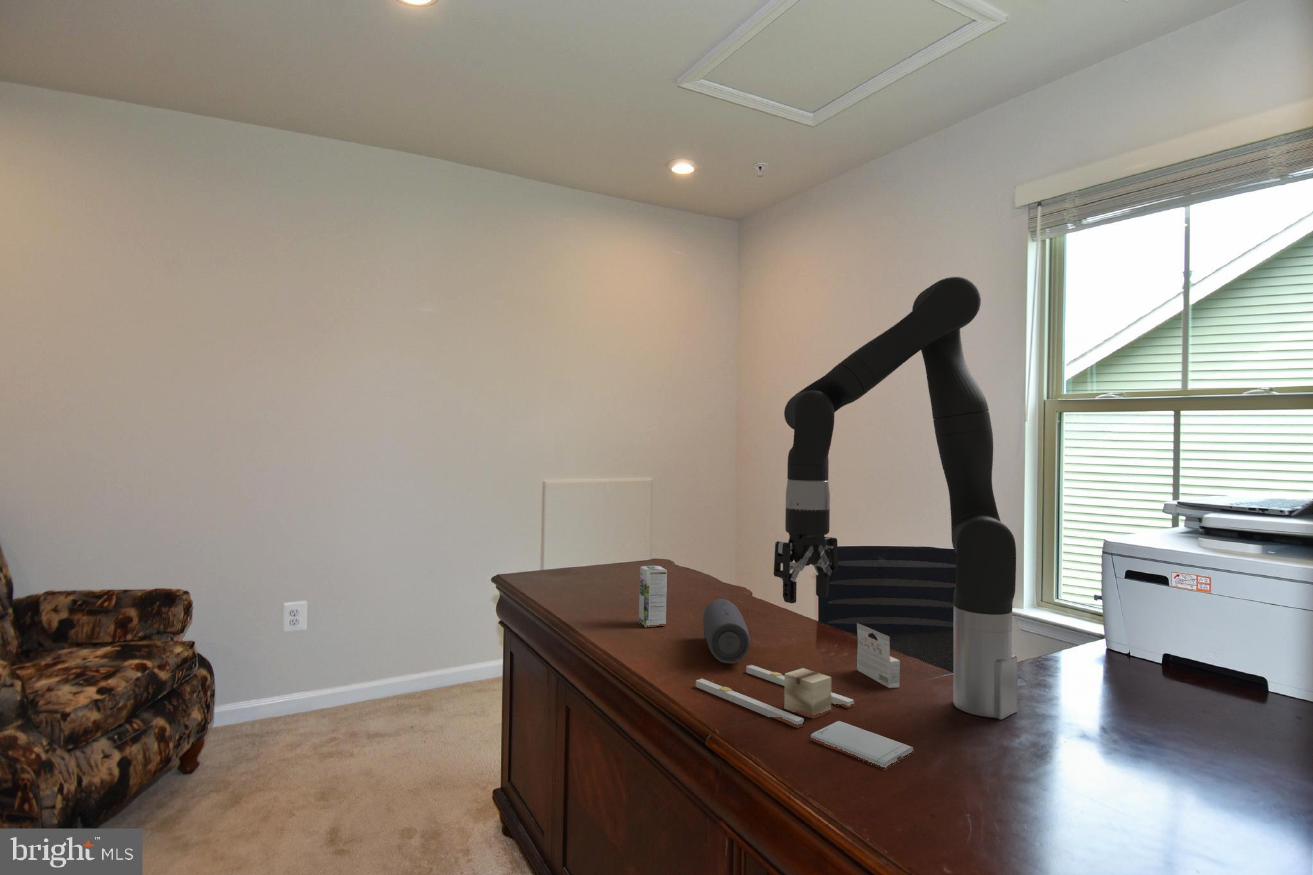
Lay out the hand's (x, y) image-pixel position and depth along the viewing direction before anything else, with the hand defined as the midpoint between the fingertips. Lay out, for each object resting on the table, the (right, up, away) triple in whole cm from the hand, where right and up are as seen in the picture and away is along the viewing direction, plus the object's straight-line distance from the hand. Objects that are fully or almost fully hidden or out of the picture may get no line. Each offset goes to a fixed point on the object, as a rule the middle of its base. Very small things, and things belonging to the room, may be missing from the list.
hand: (806, 599), depth 118 cm
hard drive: (+5, -19, -16) cm, 25 cm away
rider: (0, -19, -2) cm, 19 cm away
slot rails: (-5, -19, +4) cm, 20 cm away
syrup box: (-27, -20, +54) cm, 63 cm away
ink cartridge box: (+17, -19, +15) cm, 30 cm away
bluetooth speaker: (-11, -19, +31) cm, 38 cm away
